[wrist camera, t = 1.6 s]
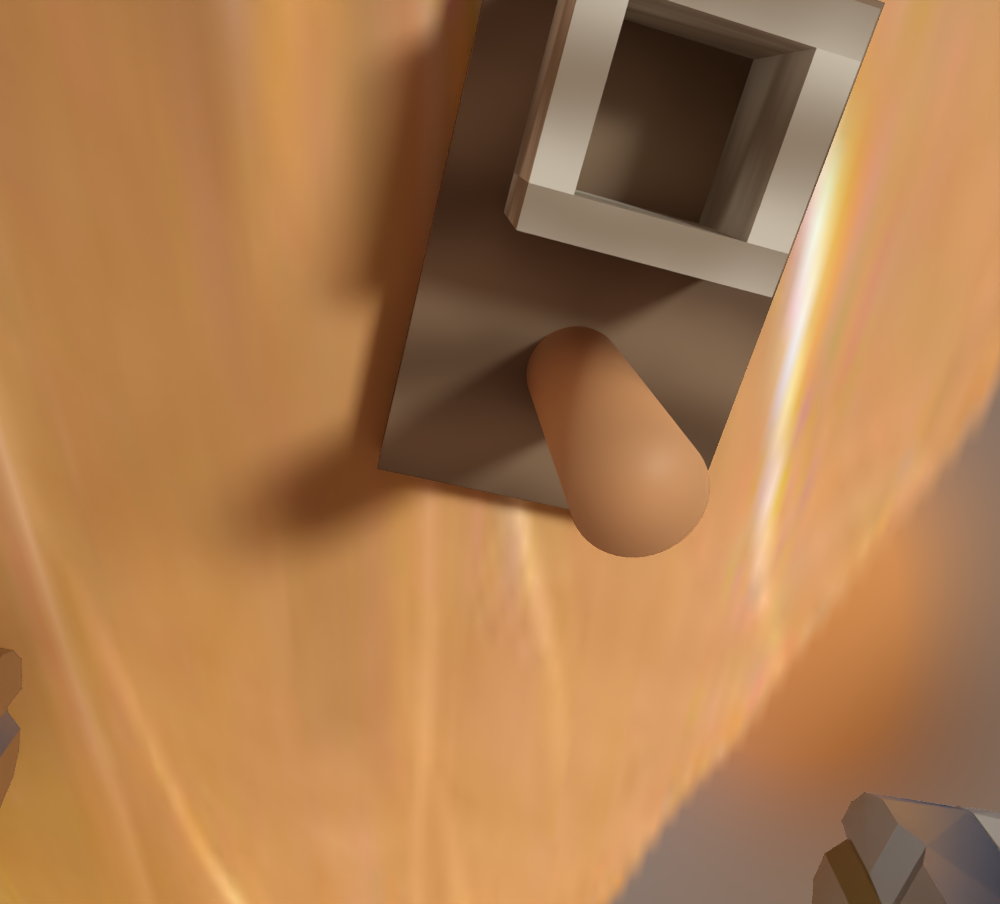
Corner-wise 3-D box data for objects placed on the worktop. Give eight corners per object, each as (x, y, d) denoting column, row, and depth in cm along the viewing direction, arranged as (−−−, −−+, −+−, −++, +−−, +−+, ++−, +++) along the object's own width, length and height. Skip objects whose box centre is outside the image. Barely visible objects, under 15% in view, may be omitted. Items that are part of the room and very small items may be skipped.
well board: (672, 514, 40) (722, 598, 33) (380, 451, 37) (367, 527, 30) (859, 9, 32) (975, -21, 25) (507, -107, 30) (528, -175, 23)
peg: (605, 428, 36) (682, 569, 25) (515, 407, 35) (551, 542, 24) (634, 339, 34) (730, 445, 23) (541, 315, 34) (593, 412, 23)
